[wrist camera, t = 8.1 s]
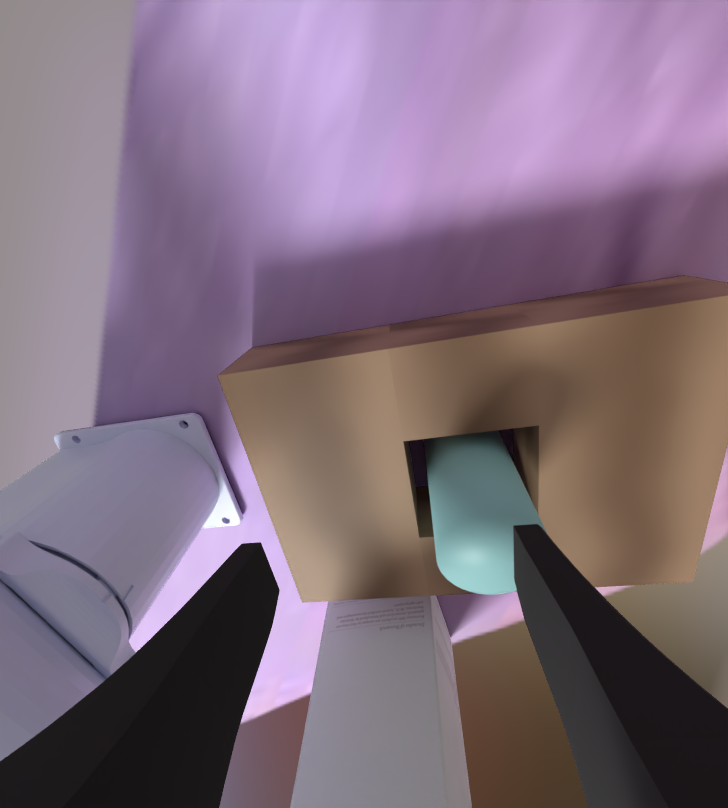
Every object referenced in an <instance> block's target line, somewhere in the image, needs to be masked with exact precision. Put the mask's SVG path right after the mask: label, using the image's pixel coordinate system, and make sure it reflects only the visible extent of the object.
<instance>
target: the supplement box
mask: <svg viewBox="0 0 728 808" xmlns="http://www.w3.org/2000/svg"><path fill="white" fill-rule="evenodd" d="M290 808H472V805H471V797H470V790H469V782H468V775H467V766H466V758H465V750H464V743H463V734H462V727H461V719H460V711H459V703H458V695H457V688H456V679H455V670H454V661H453V652H452V644H451V639H450V635H449V632H448V629H447V626H446V623H445V620H444V617H443V614H442V611H441V608H440V605H439V603H438V600H437V597H436V595H435V596H416V597H397V598H378V599H359V600H339V601H328V606H327V611H326V616H325V621H324V627H323V632H322V638H321V643H320V649H319V654H318V660H317V665H316V671H315V676H314V681H313V687H312V692H311V699H310V704H309V710H308V715H307V720H306V725H305V731H304V736H303V742H302V747H301V753H300V758H299V764H298V769H297V775H296V780H295V785H294V791H293V796H292V802H291V807H290Z"/></svg>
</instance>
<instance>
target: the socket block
mask: <svg viewBox="0 0 728 808" xmlns="http://www.w3.org/2000/svg"><path fill="white" fill-rule="evenodd" d="M218 379H219V382H220V384H221V387H222V390H223V392H224V395H225V398H226V400H227V403H228V406H229V408H230V411H231V414H232V416H233V419H234V422H235V424H236V427H237V430H238V432H239V435H240V438H241V440H242V443H243V446H244V448H245V451H246V454H247V456H248V459H249V462H250V464H251V467H252V470H253V472H254V475H255V478H256V480H257V483H258V486H259V488H260V491H261V494H262V496H263V499H264V502H265V504H266V507H267V510H268V512H269V515H270V518H271V520H272V523H273V526H274V528H275V531H276V534H277V536H278V539H279V542H280V544H281V547H282V550H283V552H284V555H285V558H286V560H287V563H288V566H289V568H290V571H291V574H292V576H293V579H294V582H295V584H296V587H297V590H298V592H299V595H300V598H301V600H302V602H320V601H339V600H359V599H378V598H397V597H416V596H435V595H454V594H473V592H469V591H467V590H464V589H461V588H459V587H457V586H456V585H454V584H452V583H451V582H450V581H449V580H447V579H446V578H445V576H444V575H443V574H442V573H441V571H440V569H439V567H438V564H437V560H436V551H435V542H434V532H433V523H432V514H431V504H430V495H429V486H421V487H416V484H415V478H414V471H413V465H412V459H411V453H410V446H409V441H411V440H419V439H428V438H436V437H445V436H453V435H462V434H470V433H479V432H487V431H496V430H504V429H513V435H514V465H515V467H516V469H517V471H518V473H519V475H520V477H521V480H522V482H523V484H524V486H525V488H526V490H527V492H528V494H529V496H530V499H531V501H532V503H533V505H534V507H535V509H536V511H537V513H538V515H539V517H540V520H541V522H542V524H543V526H544V528H545V530H546V532H547V534H548V536H549V537H550V538H551V539H552V541H553V542H554V543H555V544H556V545H557V547H558V548H559V549H560V550H561V551H562V552H563V554H564V555H565V556H566V557H567V558H568V559H569V560H570V561H571V563H572V564H573V565H574V566H575V567H576V568H577V569H578V570H579V572H580V573H581V574H582V575H583V576H584V577H585V578H586V579H587V580H588V581H589V582H590V583H591V584H592V585H593V586H594V587H607V586H626V585H645V584H664V583H684V582H693V580H694V576H695V572H696V568H697V564H698V560H699V556H700V552H701V548H702V544H703V540H704V536H705V532H706V528H707V524H708V520H709V517H710V513H711V509H712V505H713V501H714V497H715V493H716V489H717V485H718V481H719V477H720V473H721V469H722V465H723V461H724V457H725V453H726V449H727V445H728V283H726V282H720V281H714V280H708V279H703V278H697V277H691V276H685V275H683V276H677V277H671V278H665V279H659V280H653V281H647V282H641V283H635V284H629V285H623V286H617V287H611V288H605V289H600V290H594V291H588V292H582V293H576V294H570V295H564V296H558V297H552V298H546V299H540V300H534V301H528V302H522V303H516V304H510V305H504V306H498V307H492V308H486V309H480V310H474V311H468V312H462V313H456V314H450V315H444V316H438V317H432V318H426V319H420V320H415V321H409V322H403V323H397V324H391V325H385V326H379V327H373V328H367V329H361V330H355V331H349V332H343V333H337V334H331V335H325V336H319V337H313V338H307V339H301V340H295V341H289V342H283V343H277V344H271V345H265V346H259V347H253V348H251V349H249V350H248V351H247V352H246V353H245V354H243V355H242V356H241V357H240V358H238V359H237V360H236V361H235V362H234V363H232V364H231V365H230V366H229V367H227V368H226V369H225V370H224V371H223V372H221V373H220V374H219V375H218Z"/></svg>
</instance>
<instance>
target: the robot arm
mask: <svg viewBox="0 0 728 808" xmlns="http://www.w3.org/2000/svg"><path fill="white" fill-rule="evenodd" d="M183 421H186V422H187V423H188V425H185V424H184V423H183ZM78 437H79V438H80V439H79V438H78ZM54 441H55V443H56V444H57V446H58V448H59V449H60V451H59V452H58V453H56V454H55V455H53V456H51V457H50V458H48V459H47V460H45V461H44V462H42V463H41V464H39V465H38V466H36V467H35V468H33V469H32V470H30V471H29V472H27V473H26V474H24V475H23V476H21V477H20V478H18V479H17V480H15V481H14V482H12V483H11V484H9V485H8V486H6V487H4V488H3V489H1V490H0V808H219V806H220V801H221V797H222V792H223V788H224V784H225V780H226V775H227V771H228V767H229V763H230V759H231V755H232V751H233V747H234V743H235V739H236V735H237V732H238V729H239V725H240V722H241V719H242V715H243V712H244V709H245V706H246V703H247V700H248V697H249V695H250V692H251V689H252V686H253V683H254V680H255V677H256V674H257V671H258V668H259V665H260V662H261V659H262V656H263V653H264V650H265V647H266V644H267V641H268V637H269V634H270V631H271V628H272V624H273V619H274V615H275V611H276V606H277V600H278V595H279V588H278V585H277V582H276V580H275V577H274V575H273V572H272V570H271V567H270V565H269V562H268V560H267V557H266V555H265V552H264V549H263V547H262V544H261V543H246V544H241V545H240V546H239V547H238V548H237V549H236V550H235V551H234V552H233V553H232V555H231V556H230V557H229V558H228V559H227V560H226V561H225V562H224V563H223V564H222V565H221V566H220V568H219V569H218V570H217V571H216V572H215V573H214V574H213V575H212V576H211V577H210V578H209V579H208V581H207V582H206V583H205V584H204V585H203V586H202V587H201V588H200V589H199V590H198V591H197V592H196V593H195V594H194V595H193V597H192V598H191V599H190V600H189V601H188V602H187V603H186V604H185V605H184V606H183V607H182V608H181V609H180V610H179V611H178V612H177V613H176V614H175V615H174V616H173V617H172V618H171V619H170V620H169V621H168V622H167V623H166V624H165V625H164V626H163V627H162V628H161V629H160V630H159V631H158V632H157V633H156V634H155V635H154V636H153V637H152V638H151V639H150V640H149V641H148V642H147V643H146V644H145V645H144V646H143V647H142V648H141V649H140V650H138V651H137V652H135V651H134V650H133V649H132V647H131V645H130V643H129V639H130V637H131V636H132V634H133V633H134V631H135V630H136V628H137V627H138V625H139V624H140V622H141V620H142V619H143V617H144V616H145V614H146V613H147V611H148V610H149V608H150V607H151V605H152V604H153V602H154V601H155V599H156V598H157V596H158V595H159V593H160V591H161V590H162V588H163V587H164V585H165V584H166V582H167V581H168V579H169V578H170V576H171V575H172V573H173V572H174V570H175V569H176V567H177V565H178V564H179V562H180V561H181V559H182V558H183V556H184V555H185V553H186V552H187V550H188V549H189V547H190V546H191V544H192V543H193V541H194V539H195V538H196V536H197V535H198V533H199V532H200V530H201V529H202V528H212V527H223V526H235V525H239V524H240V523H241V521H242V519H243V515H242V513H241V510H240V508H239V506H238V503H237V501H236V498H235V496H234V493H233V491H232V489H231V486H230V484H229V481H228V479H227V477H226V474H225V472H224V469H223V467H222V464H221V462H220V460H219V457H218V455H217V452H216V450H215V448H214V445H213V443H212V440H211V438H210V435H209V433H208V431H207V428H206V426H205V423H204V421H203V419H202V417H201V416H200V415H198V414H196V413H187V414H180V415H173V416H166V417H159V418H152V419H145V420H138V421H131V422H124V423H117V424H110V425H103V426H96V427H89V428H82V429H75V430H68V431H62V432H59V433H58V434H56V435H55V436H54ZM225 517H226V518H225ZM227 518H228V519H227ZM513 541H514V581H515V585H516V589H517V593H518V596H519V600H520V604H521V608H522V612H523V615H524V619H525V622H526V625H527V627H528V630H529V633H530V636H531V638H532V641H533V644H534V646H535V649H536V652H537V655H538V657H539V660H540V663H541V665H542V668H543V671H544V673H545V676H546V679H547V681H548V684H549V687H550V689H551V692H552V695H553V697H554V700H555V703H556V705H557V708H558V710H559V713H560V716H561V719H562V722H563V724H564V728H565V730H566V734H567V737H568V739H569V743H570V746H571V749H572V753H573V756H574V759H575V763H576V766H577V769H578V773H579V777H580V780H581V784H582V787H583V790H584V794H585V797H586V801H587V804H588V808H728V708H726V707H725V706H724V705H723V704H722V703H720V702H719V701H718V700H717V699H716V698H714V697H713V696H712V695H711V694H709V693H708V692H707V691H706V690H704V689H703V688H702V687H701V686H700V685H698V684H697V683H696V682H695V681H694V680H693V679H691V678H690V677H689V676H688V675H687V674H686V673H684V672H683V671H682V670H681V669H680V668H679V667H678V666H676V665H675V664H674V663H673V662H672V661H671V660H669V659H668V658H667V657H666V656H665V655H664V654H663V653H662V652H661V651H659V650H658V649H657V648H656V647H655V646H654V645H653V644H652V643H651V642H649V641H648V640H647V639H646V638H645V637H644V636H643V635H642V634H641V633H640V632H639V631H638V630H637V629H636V628H635V627H634V626H632V625H631V624H630V623H629V622H628V621H627V620H626V619H625V618H624V617H623V616H622V615H621V614H620V613H619V612H618V611H617V610H616V609H615V608H614V607H613V606H612V605H611V604H610V603H609V602H608V601H607V600H606V599H605V598H604V597H603V596H602V595H601V594H600V593H599V592H598V591H597V590H596V588H595V587H594V586H593V585H592V584H591V583H590V582H589V581H588V580H587V579H586V578H585V577H584V576H583V575H582V574H581V573H580V572H579V570H578V569H577V568H576V567H575V566H574V565H573V564H572V563H571V561H570V560H569V559H568V558H567V557H566V556H565V555H564V554H563V552H562V551H561V550H560V549H559V548H558V547H557V545H556V544H555V543H554V542H553V541H552V539H551V538H550V537H549V536H548V535H547V533H546V532H545V531H544V530H543V528H542V527H541V526H539V525H538V524H529V525H514V526H513Z"/></svg>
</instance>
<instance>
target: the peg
mask: <svg viewBox="0 0 728 808" xmlns="http://www.w3.org/2000/svg"><path fill="white" fill-rule="evenodd" d="M424 449H425V458H426V467H427V476H428V486H429V495H430V504H431V514H432V523H433V532H434V542H435V551H436V560H437V564H438V567H439V569H440V571H441V573H442V574H443V575H444V576H445V578H446V579H447V580H449V581H450V582H451V583H452V584H454V585H456V586H457V587H459V588H461V589H464V590H467V591H469V592H473V593H478V594H488V595H495V594H505V593H510V592H514V591H517V589H516V585H515V581H514V541H513V526H514V525H529V524H538V525H539V526H541V527H542V528H543V530H544V531H545V532H546V530H545V528H544V526H543V524H542V522H541V520H540V517H539V515H538V513H537V511H536V509H535V507H534V505H533V503H532V501H531V499H530V496H529V494H528V492H527V490H526V488H525V486H524V484H523V482H522V480H521V477H520V475H519V473H518V471H517V469H516V467H515V465H514V463H513V461H512V459H511V456H510V454H509V452H508V450H507V448H506V446H505V444H504V442H503V440H502V437H501V435H500V433H499V431H498V430H496V431H487V432H479V433H470V434H462V435H453V436H445V437H436V438H428V439H424ZM546 533H547V532H546ZM547 535H548V534H547Z"/></svg>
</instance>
